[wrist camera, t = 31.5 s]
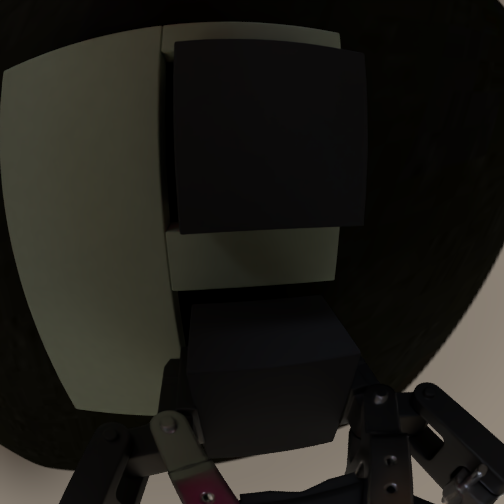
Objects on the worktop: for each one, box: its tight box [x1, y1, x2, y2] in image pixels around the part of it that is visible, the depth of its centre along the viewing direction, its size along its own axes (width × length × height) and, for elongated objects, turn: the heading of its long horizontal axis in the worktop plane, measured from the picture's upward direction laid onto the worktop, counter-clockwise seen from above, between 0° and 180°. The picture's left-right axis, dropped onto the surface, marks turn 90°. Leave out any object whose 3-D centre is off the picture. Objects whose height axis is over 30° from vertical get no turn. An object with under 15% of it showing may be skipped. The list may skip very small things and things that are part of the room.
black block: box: [186, 295, 361, 458], centre depth 11 cm, size 5×5×4 cm
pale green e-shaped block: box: [0, 22, 340, 415], centre depth 11 cm, size 14×18×2 cm
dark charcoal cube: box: [173, 39, 368, 235], centre depth 9 cm, size 5×5×4 cm
